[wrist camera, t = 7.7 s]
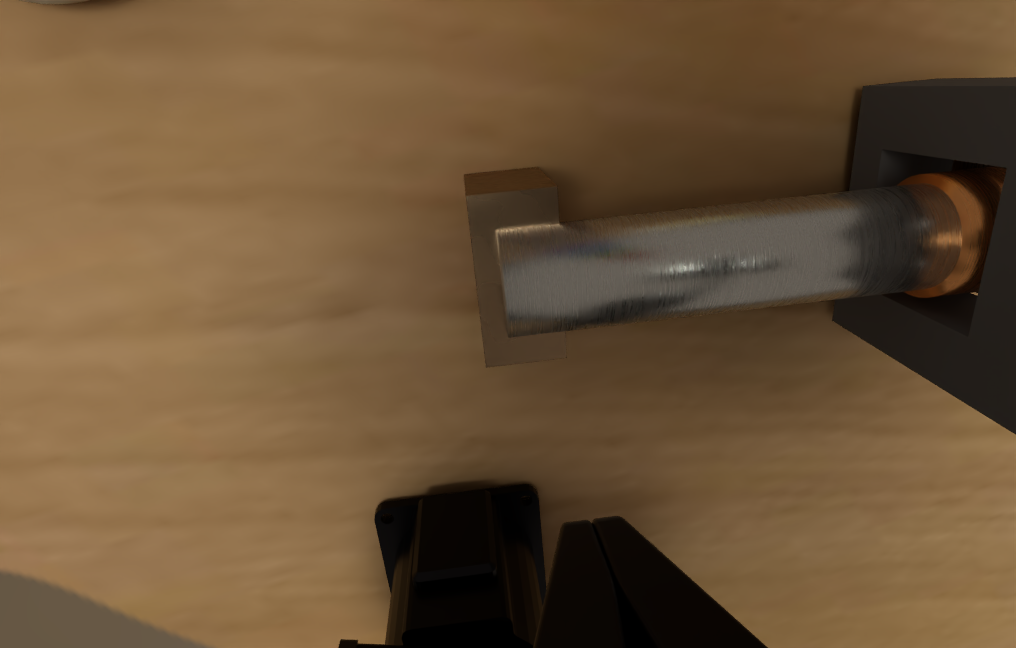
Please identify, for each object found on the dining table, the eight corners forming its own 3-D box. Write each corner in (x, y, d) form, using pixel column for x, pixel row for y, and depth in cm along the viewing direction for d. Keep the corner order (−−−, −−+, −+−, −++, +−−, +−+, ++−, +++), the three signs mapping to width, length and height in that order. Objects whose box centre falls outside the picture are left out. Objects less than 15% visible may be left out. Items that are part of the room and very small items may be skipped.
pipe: (480, 317, 21) (489, 396, 16) (463, 174, 19) (467, 209, 14) (976, 260, 22) (1146, 317, 16) (1008, 117, 20) (1211, 129, 14)
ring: (832, 320, 22) (1049, 455, 14) (863, 86, 18) (1164, 86, 11) (895, 312, 22) (1146, 442, 14) (936, 78, 19) (1289, 73, 11)
